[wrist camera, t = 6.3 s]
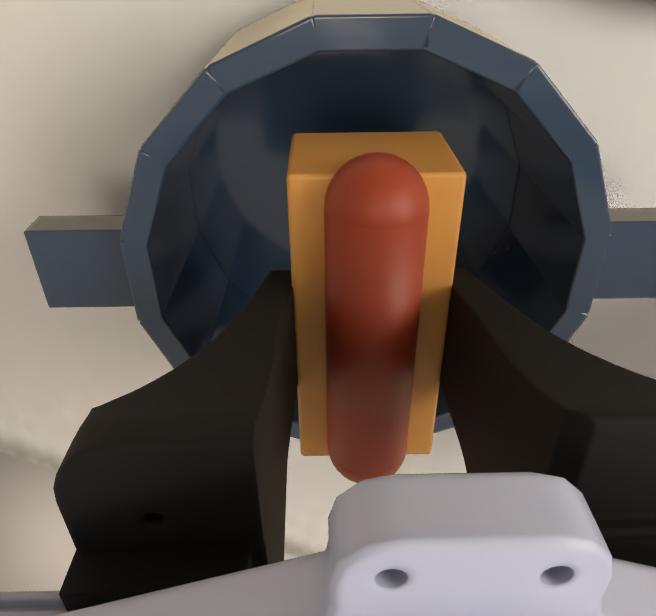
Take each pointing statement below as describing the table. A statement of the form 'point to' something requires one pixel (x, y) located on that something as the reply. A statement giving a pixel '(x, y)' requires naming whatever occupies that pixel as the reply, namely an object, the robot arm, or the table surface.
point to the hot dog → (371, 291)
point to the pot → (348, 117)
